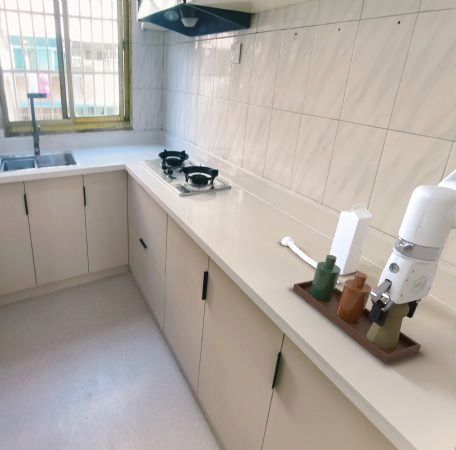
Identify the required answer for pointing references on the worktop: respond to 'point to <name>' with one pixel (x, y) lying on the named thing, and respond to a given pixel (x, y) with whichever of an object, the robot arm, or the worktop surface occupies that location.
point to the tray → (357, 326)
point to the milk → (351, 237)
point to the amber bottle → (354, 299)
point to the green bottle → (325, 279)
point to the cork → (389, 327)
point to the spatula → (299, 252)
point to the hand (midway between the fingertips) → (390, 317)
